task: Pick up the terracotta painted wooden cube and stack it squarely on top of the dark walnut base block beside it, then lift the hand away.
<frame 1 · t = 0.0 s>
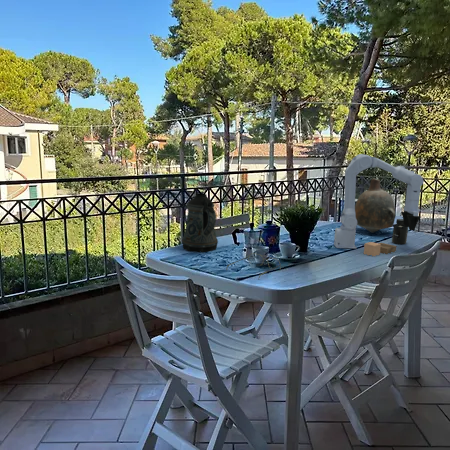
hand: (409, 228, 200), 10 cm above the table, tool pointing down, fingers open, 7 cm apart
supplement bottle: (398, 243, 214), on the table
eyeglasses: (254, 272, 166), on the table
beer stein: (202, 248, 196), on the table
walnut base: (383, 251, 198), on the table
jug: (372, 232, 236), on the table
terracotta cube: (371, 254, 192), on the table
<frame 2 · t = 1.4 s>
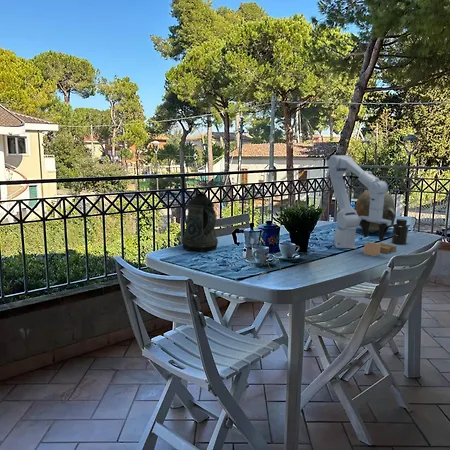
hand: (373, 238, 191), 7 cm above the table, tool pointing down, fingers open, 7 cm apart
nothing on the table moved.
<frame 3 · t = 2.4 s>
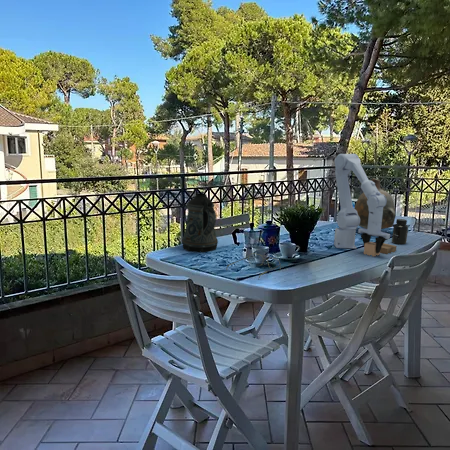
hand: (372, 251, 192), 1 cm above the table, tool pointing down, fingers closed on terracotta cube, 5 cm apart
terracotta cube: (371, 254, 192), on the table, touching gripper
everything else where it was.
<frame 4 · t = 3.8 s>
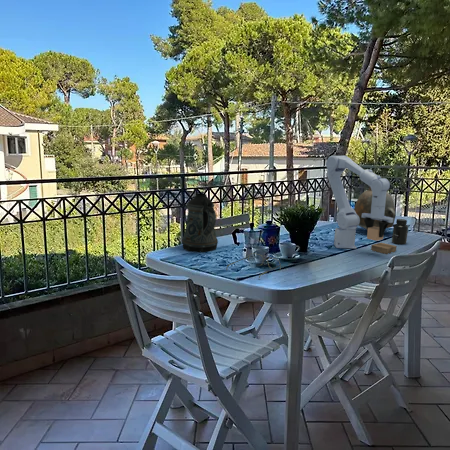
hand: (375, 235, 191), 8 cm above the table, tool pointing down, fingers closed on terracotta cube, 5 cm apart
terracotta cube: (374, 238, 192), point 7 cm above the table, touching gripper
everything else where it was.
when the fingers open (5 cm above the table, at t = 5.3 s): terracotta cube drops 1 cm, point 3 cm above the table.
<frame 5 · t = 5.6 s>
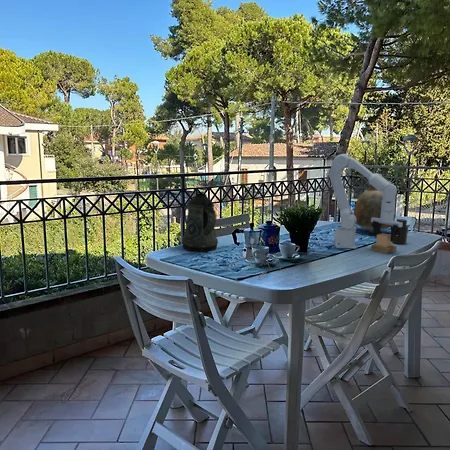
hand: (384, 239, 197), 5 cm above the table, tool pointing down, fingers open, 7 cm apart
terracotta cube: (383, 245, 198), point 3 cm above the table
everything else where it was.
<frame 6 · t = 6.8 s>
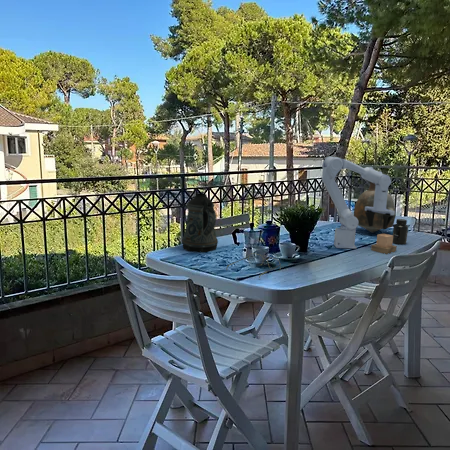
hand: (377, 227, 204), 9 cm above the table, tool pointing down, fingers open, 7 cm apart
nothing on the table moved.
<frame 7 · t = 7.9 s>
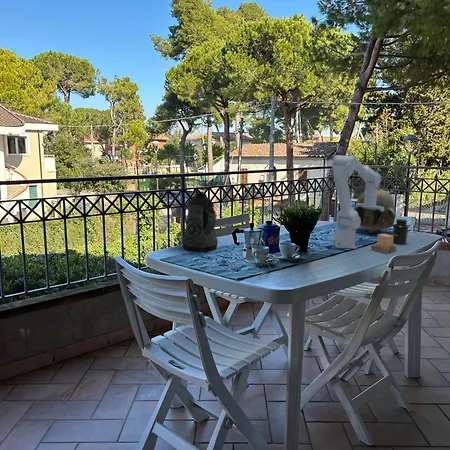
hand: (368, 223, 213), 9 cm above the table, tool pointing down, fingers open, 7 cm apart
nothing on the table moved.
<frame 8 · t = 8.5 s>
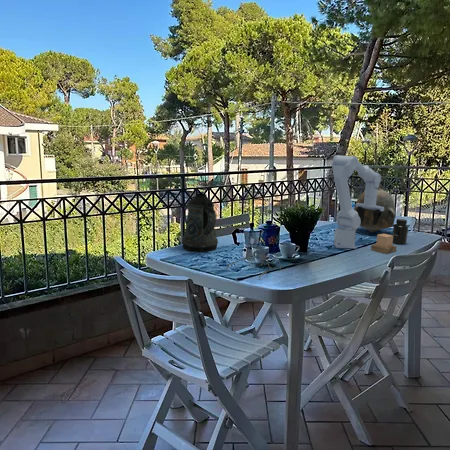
hand: (368, 223, 213), 9 cm above the table, tool pointing down, fingers open, 7 cm apart
walnut base: (383, 251, 199), on the table, touching terracotta cube
terracotta cube: (384, 245, 198), point 3 cm above the table, touching walnut base
everything else where it was.
at the end: terracotta cube 0.2 cm off-centre on the walnut base, point 3.0 cm above the walnut base's base; terracotta cube tilted 1°; the gripper is holding nothing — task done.
